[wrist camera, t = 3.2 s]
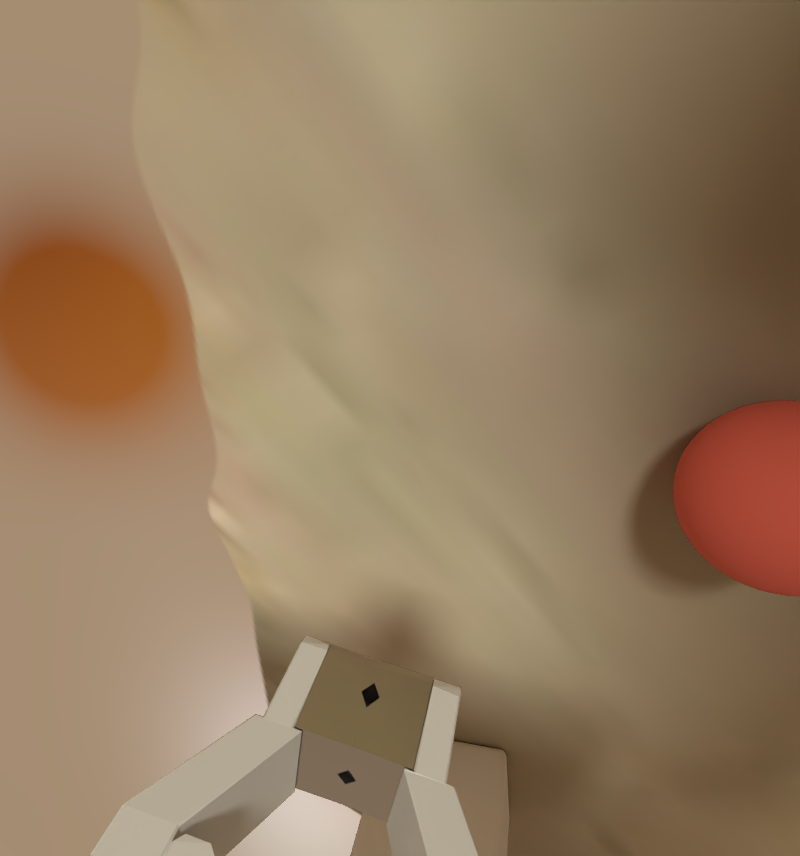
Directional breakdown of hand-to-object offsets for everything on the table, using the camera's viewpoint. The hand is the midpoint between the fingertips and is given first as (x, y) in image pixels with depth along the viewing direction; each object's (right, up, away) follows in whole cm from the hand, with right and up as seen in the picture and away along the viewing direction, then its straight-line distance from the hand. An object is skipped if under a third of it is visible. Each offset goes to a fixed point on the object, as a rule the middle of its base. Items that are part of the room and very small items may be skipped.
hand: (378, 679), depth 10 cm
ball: (+12, +3, +6) cm, 13 cm away
